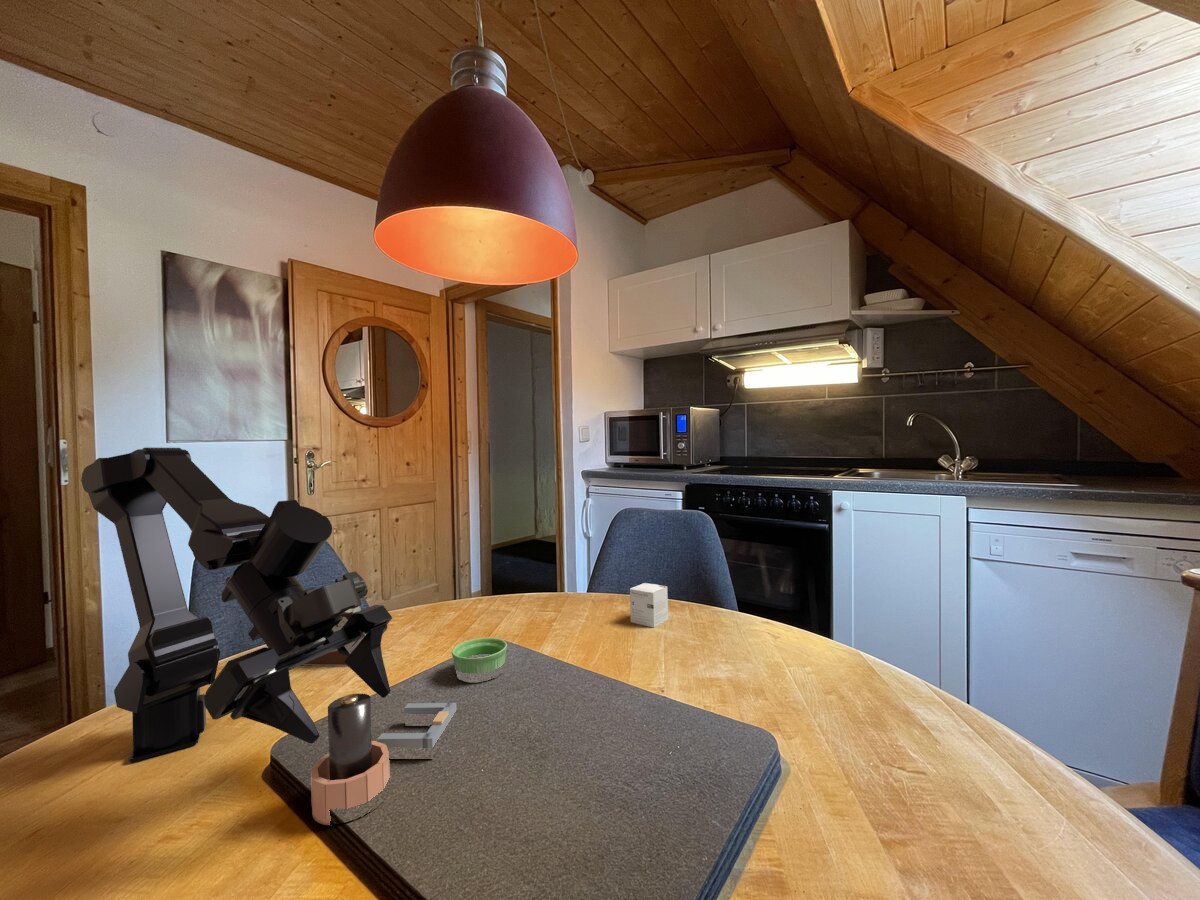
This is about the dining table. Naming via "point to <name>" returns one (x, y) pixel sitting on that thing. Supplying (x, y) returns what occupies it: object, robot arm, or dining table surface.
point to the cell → (349, 736)
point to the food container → (334, 656)
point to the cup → (347, 785)
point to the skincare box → (649, 604)
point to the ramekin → (475, 648)
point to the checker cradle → (422, 739)
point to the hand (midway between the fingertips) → (354, 715)
